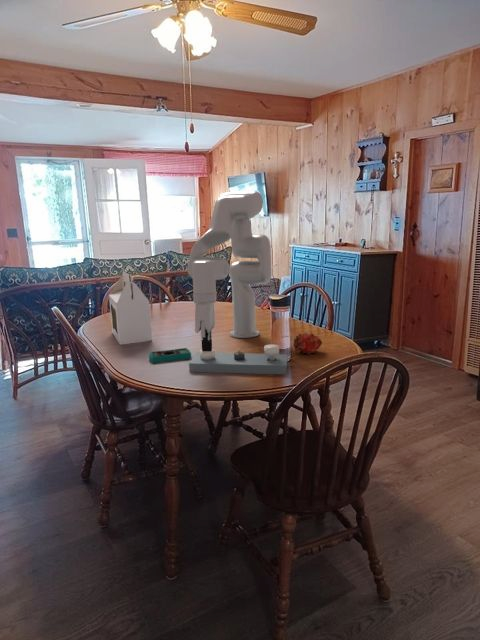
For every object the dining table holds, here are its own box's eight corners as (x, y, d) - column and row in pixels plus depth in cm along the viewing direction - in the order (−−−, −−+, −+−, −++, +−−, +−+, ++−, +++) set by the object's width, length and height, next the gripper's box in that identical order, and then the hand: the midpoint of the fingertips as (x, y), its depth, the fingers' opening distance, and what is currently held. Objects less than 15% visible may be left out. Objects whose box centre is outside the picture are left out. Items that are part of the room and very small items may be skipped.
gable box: (152, 341, 189) (147, 274, 183) (120, 345, 184) (114, 277, 178) (141, 329, 209) (136, 268, 203) (112, 333, 204) (106, 271, 198)
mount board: (197, 360, 162) (197, 352, 162) (287, 362, 158) (287, 354, 157) (189, 371, 151) (189, 363, 150) (285, 374, 146) (285, 365, 145)
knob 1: (202, 363, 159) (201, 348, 157) (216, 363, 158) (215, 348, 157) (199, 368, 154) (198, 352, 152) (213, 368, 153) (213, 352, 152)
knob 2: (265, 359, 155) (264, 344, 154) (279, 360, 154) (279, 344, 153) (263, 364, 150) (263, 348, 149) (278, 364, 149) (278, 348, 148)
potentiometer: (234, 356, 156) (234, 347, 155) (245, 357, 155) (245, 347, 154) (233, 360, 152) (233, 350, 151) (243, 360, 152) (243, 350, 151)
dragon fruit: (290, 358, 167) (318, 359, 171) (300, 350, 160) (330, 351, 164) (286, 337, 170) (314, 338, 175) (296, 328, 163) (325, 329, 167)
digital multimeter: (148, 358, 167) (148, 351, 167) (188, 354, 171) (187, 346, 171) (150, 365, 160) (150, 357, 160) (192, 360, 165) (191, 352, 164)
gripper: (199, 293, 158) (201, 344, 162) (188, 301, 144) (190, 357, 148) (220, 293, 157) (221, 344, 161) (211, 301, 142) (213, 357, 147)
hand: (207, 350), depth 154 cm, fingers closed
